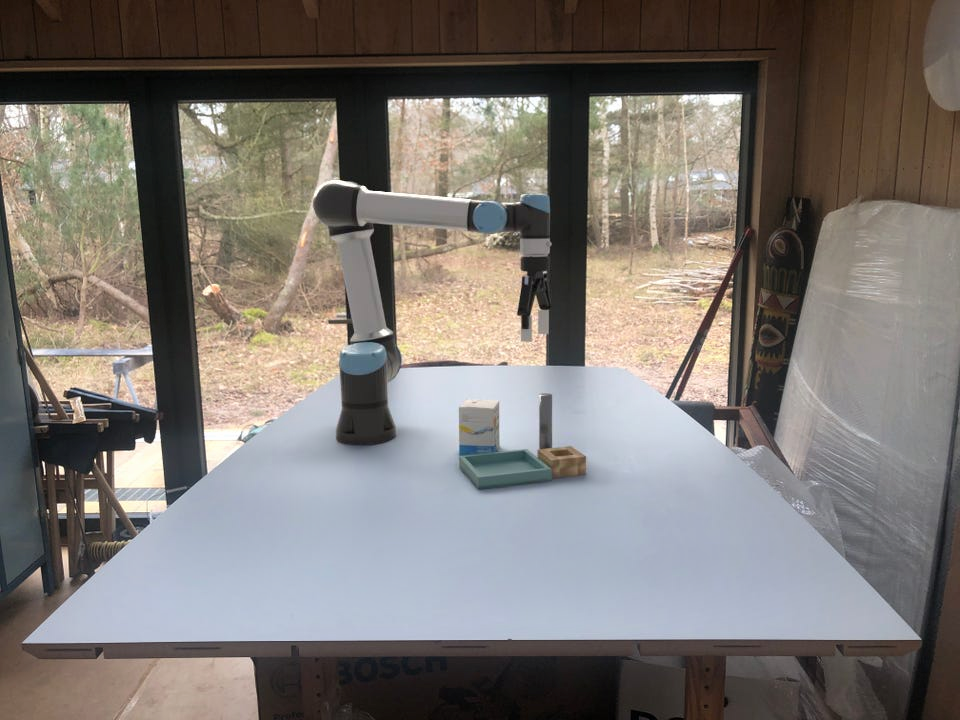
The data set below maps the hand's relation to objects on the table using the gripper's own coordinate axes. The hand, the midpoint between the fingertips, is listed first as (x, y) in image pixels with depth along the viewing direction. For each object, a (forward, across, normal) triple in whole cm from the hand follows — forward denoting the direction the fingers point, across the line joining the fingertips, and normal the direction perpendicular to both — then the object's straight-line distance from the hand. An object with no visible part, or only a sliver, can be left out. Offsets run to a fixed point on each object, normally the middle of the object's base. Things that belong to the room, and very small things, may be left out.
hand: (535, 337), depth 198 cm
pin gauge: (+24, -22, -10) cm, 34 cm away
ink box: (+24, -26, +5) cm, 35 cm away
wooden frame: (+24, -33, -17) cm, 44 cm away
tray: (+24, -40, -6) cm, 47 cm away
